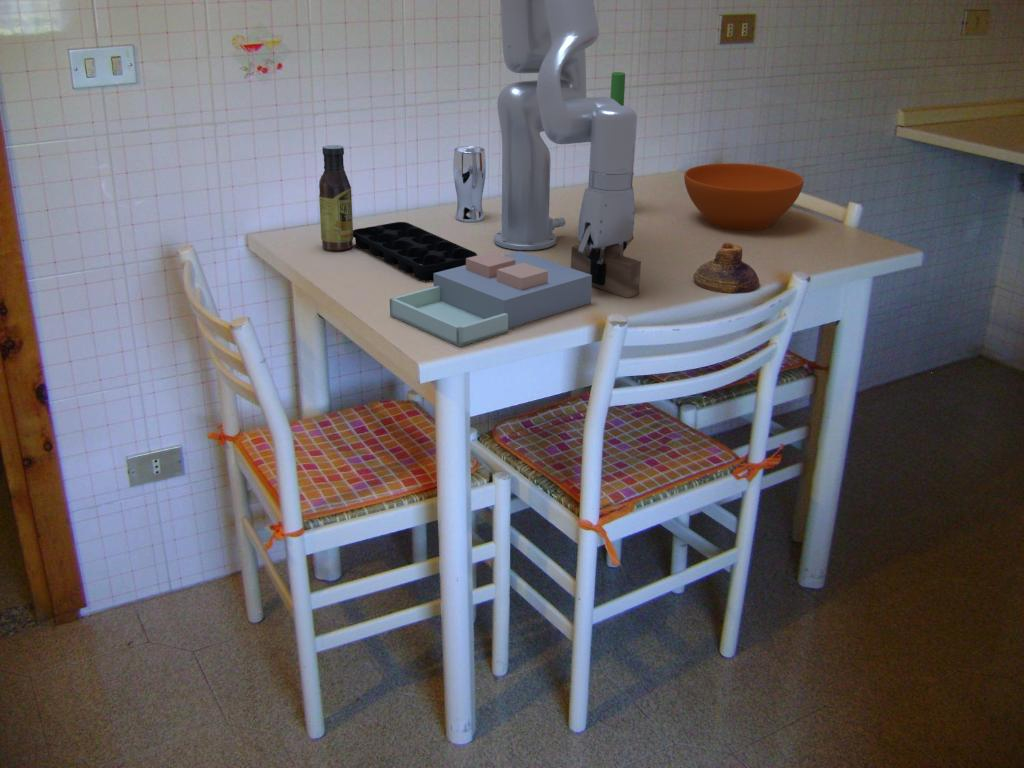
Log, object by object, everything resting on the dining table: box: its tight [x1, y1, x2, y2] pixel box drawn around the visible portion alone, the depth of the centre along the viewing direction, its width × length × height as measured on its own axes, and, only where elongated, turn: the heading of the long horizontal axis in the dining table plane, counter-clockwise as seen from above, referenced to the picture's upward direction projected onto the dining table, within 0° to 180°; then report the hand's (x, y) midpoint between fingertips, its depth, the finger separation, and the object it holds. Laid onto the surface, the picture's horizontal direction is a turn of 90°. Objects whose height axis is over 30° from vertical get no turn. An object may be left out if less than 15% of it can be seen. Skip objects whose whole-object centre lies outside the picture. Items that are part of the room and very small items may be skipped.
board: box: [433, 250, 592, 330], centre depth 182 cm, size 20×18×5 cm
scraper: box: [570, 244, 642, 299], centre depth 189 cm, size 3×14×8 cm, turn 42°
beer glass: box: [452, 145, 487, 223], centre depth 228 cm, size 7×7×15 cm
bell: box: [693, 242, 760, 294], centre depth 192 cm, size 12×12×7 cm
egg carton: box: [353, 221, 478, 282], centre depth 205 cm, size 18×30×4 cm, turn 47°
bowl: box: [683, 162, 805, 231], centre depth 230 cm, size 25×25×10 cm
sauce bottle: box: [318, 144, 354, 252], centre depth 207 cm, size 6×6×20 cm
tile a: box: [466, 251, 515, 278], centre depth 182 cm, size 6×6×2 cm
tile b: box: [497, 263, 548, 290], centre depth 177 cm, size 6×6×2 cm
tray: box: [389, 286, 509, 348], centre depth 172 cm, size 10×18×3 cm, turn 42°
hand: (604, 280), depth 190 cm, fingers closed on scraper, 2 cm apart
